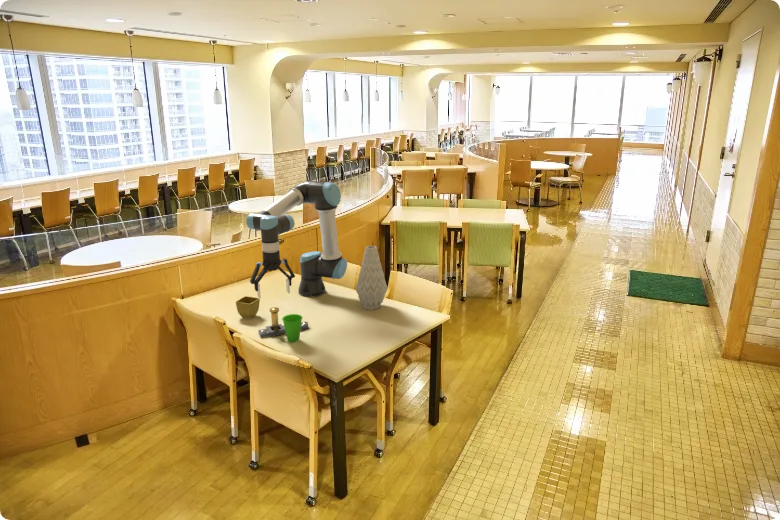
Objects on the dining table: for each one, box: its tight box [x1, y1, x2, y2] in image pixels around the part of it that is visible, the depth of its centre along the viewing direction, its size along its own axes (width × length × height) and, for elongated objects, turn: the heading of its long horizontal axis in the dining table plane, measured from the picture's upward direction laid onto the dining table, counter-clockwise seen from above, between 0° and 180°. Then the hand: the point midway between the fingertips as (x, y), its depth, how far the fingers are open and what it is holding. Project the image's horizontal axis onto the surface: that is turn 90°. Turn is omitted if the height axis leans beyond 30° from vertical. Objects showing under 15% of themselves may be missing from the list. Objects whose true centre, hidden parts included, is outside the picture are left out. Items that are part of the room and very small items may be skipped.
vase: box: [355, 245, 388, 311], centre depth 276 cm, size 17×17×33 cm
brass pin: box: [269, 306, 280, 330], centre depth 247 cm, size 4×4×12 cm
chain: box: [257, 321, 309, 338], centre depth 250 cm, size 23×7×2 cm, turn 117°
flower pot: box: [235, 295, 261, 319], centre depth 266 cm, size 9×9×9 cm
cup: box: [281, 313, 303, 343], centre depth 240 cm, size 9×9×11 cm
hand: (273, 294), depth 244 cm, fingers open, 13 cm apart
